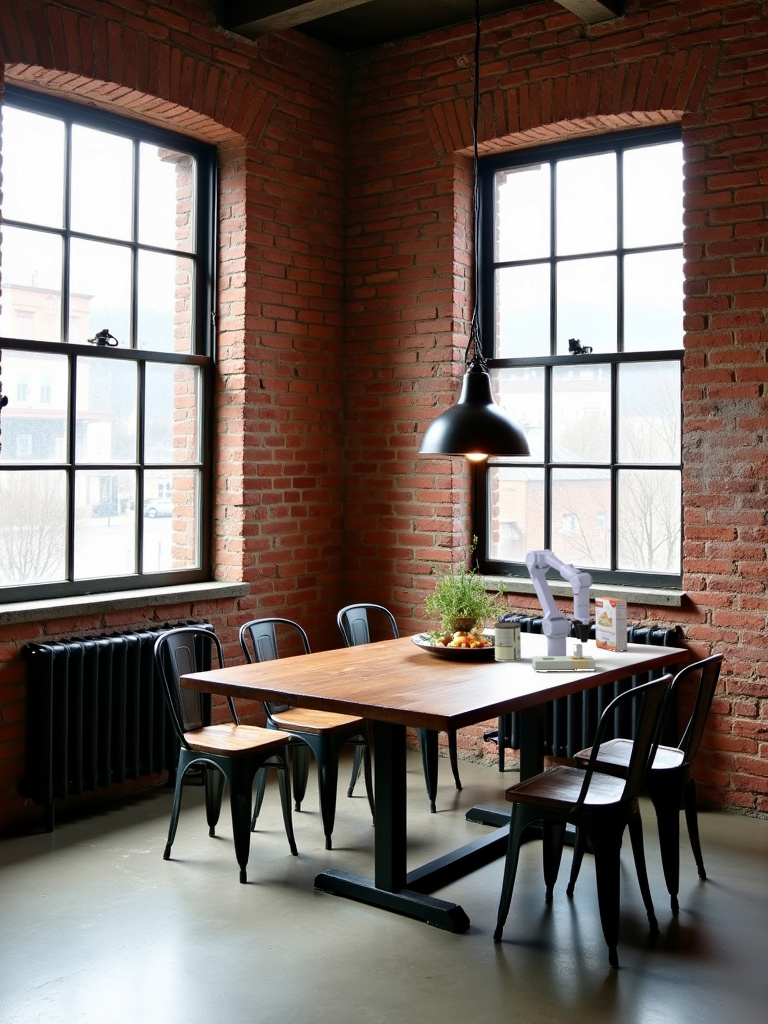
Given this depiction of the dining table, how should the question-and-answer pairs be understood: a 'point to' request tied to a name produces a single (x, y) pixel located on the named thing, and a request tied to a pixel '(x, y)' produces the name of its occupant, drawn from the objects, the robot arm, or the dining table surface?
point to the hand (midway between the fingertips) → (582, 640)
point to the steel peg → (577, 651)
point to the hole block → (563, 663)
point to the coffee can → (507, 642)
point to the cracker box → (611, 623)
